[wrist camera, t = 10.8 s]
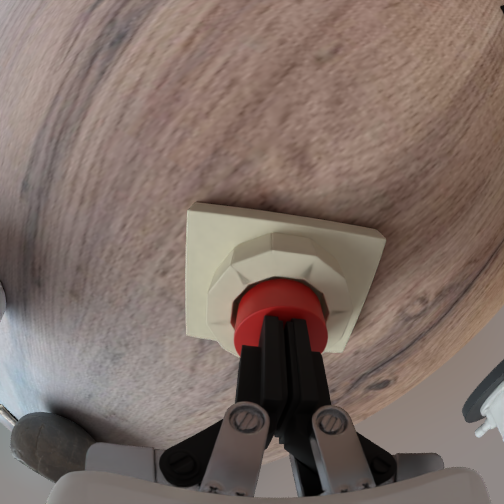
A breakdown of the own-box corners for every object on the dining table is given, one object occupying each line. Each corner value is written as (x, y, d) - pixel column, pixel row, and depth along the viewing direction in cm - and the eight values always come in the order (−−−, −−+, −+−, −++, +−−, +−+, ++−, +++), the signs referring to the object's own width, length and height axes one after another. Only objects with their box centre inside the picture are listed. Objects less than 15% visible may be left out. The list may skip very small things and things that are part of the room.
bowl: (113, 428, 27) (87, 501, 16) (126, 462, 35) (111, 513, 23) (18, 376, 26) (-16, 432, 14) (49, 425, 33) (28, 469, 22)
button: (330, 283, 12) (340, 311, 10) (309, 346, 14) (313, 375, 12) (242, 272, 12) (238, 299, 10) (234, 338, 14) (229, 367, 12)
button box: (377, 228, 14) (403, 256, 11) (338, 338, 17) (348, 376, 14) (194, 201, 14) (173, 223, 11) (191, 321, 17) (177, 359, 14)
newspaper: (57, 452, 46) (54, 457, 44) (42, 442, 50) (39, 447, 48) (2, 405, 37) (-2, 411, 35) (-7, 398, 41) (-10, 403, 39)
